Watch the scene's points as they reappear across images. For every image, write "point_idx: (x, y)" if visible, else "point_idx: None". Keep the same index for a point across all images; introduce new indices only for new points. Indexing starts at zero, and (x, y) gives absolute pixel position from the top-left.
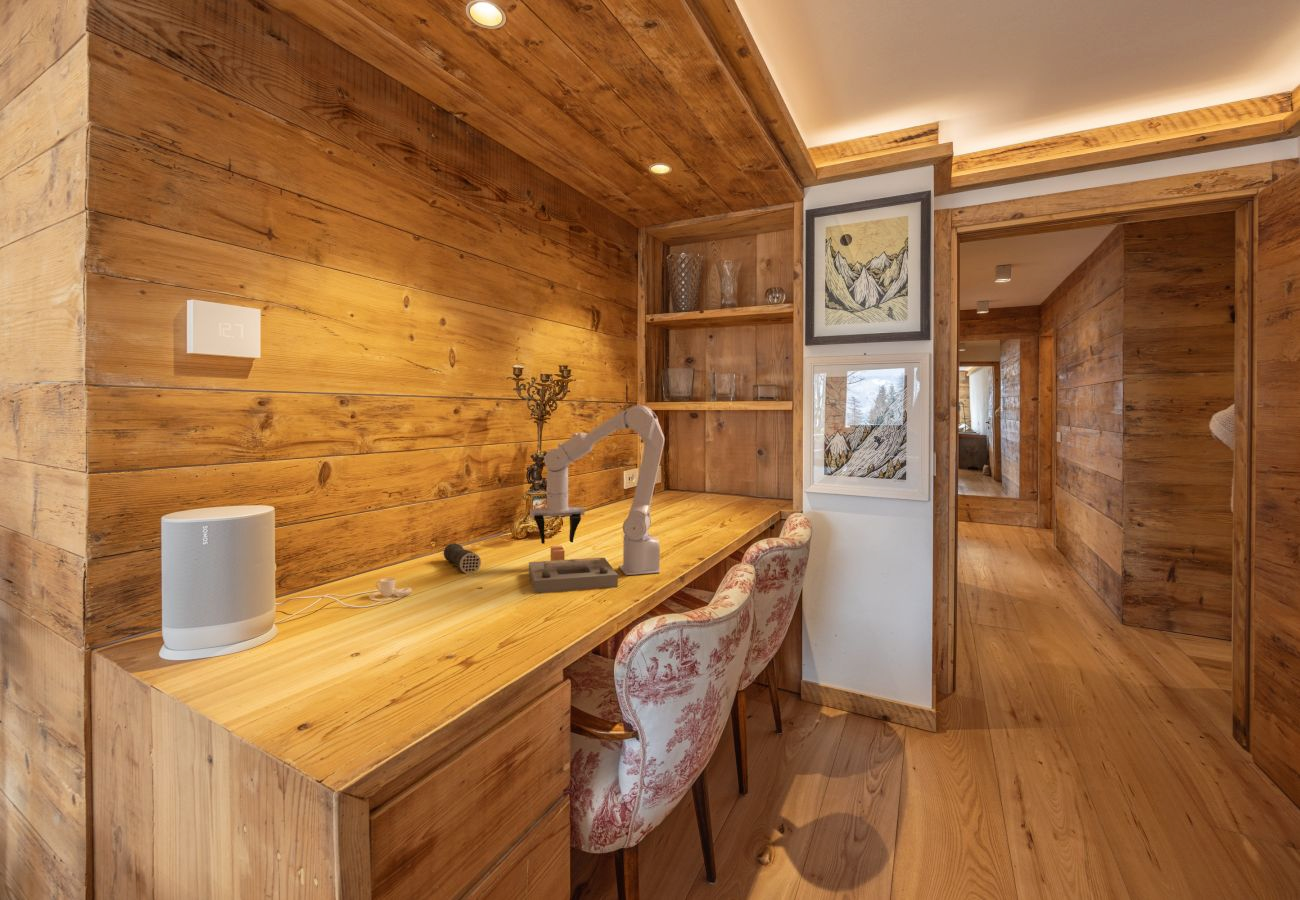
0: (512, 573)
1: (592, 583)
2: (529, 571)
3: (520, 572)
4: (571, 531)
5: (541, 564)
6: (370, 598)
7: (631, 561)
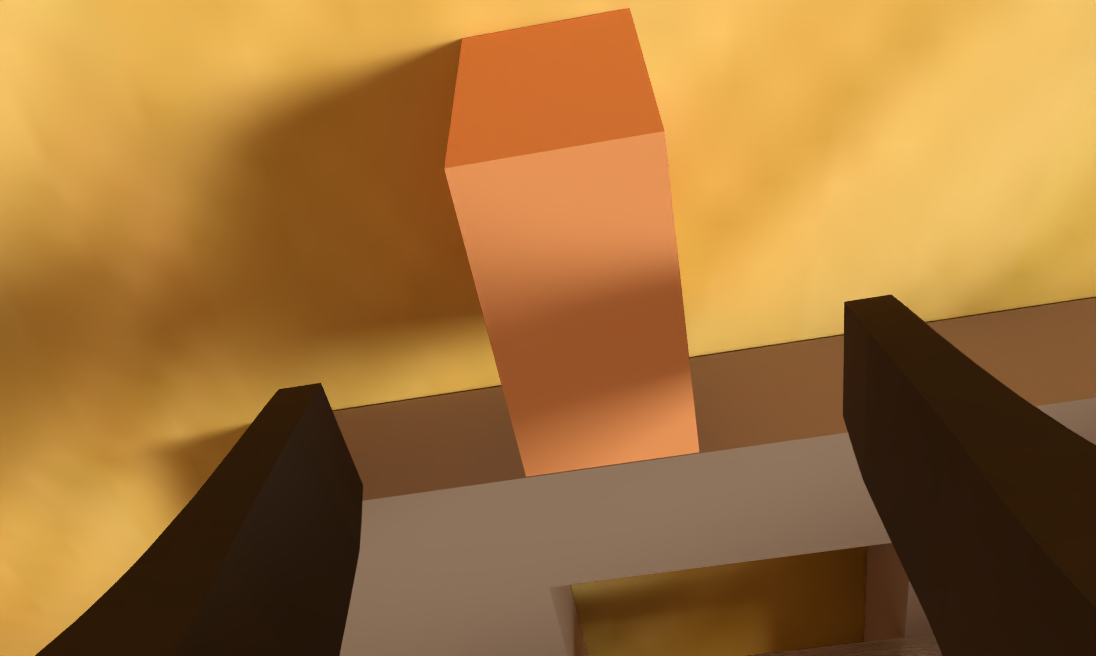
0: (75, 407)
1: None
2: None
3: (153, 381)
4: (929, 607)
5: (408, 587)
6: None
7: None
